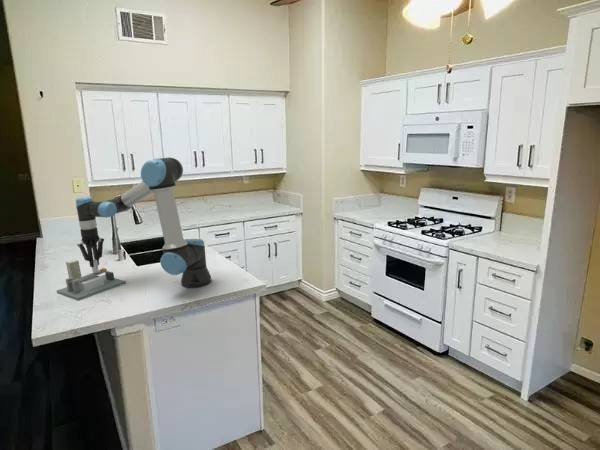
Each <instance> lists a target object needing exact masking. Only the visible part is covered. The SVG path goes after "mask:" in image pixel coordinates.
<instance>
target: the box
mask: <svg viewBox="0 0 600 450" xmlns="http://www.w3.org/2000/svg"><path fill="white" fill-rule="evenodd" d="M65 264H66V265H65V266H66V269H67V274H68V278H72V279H73V280H75V279H78V278H81V277H83V276H82V271H81V267H80V262H79V259H71V260H67V261H65Z"/></svg>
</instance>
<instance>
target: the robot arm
mask: <svg viewBox="0 0 600 450" xmlns="http://www.w3.org/2000/svg"><path fill="white" fill-rule="evenodd" d="M183 174H184V167H183V165H182V163H181V161H179V160H178V159H176V158H175V157H163V158H162V157H160V158H159V157H158V158H152V159H149V160H146V162H144V164H143V165H142V166H141V169H140V177H141V178H140V179H141V182H140V181H139V183H137V184H136V185H134V186H133V187H131V188H130V189H128V190H127V191H125V192H124V193H122V194H121V195H119V196H118V197H115V198H112V199H107V200H103V201H94V200H93V197H92V196H83V197H78V198H76V199H75V207H76V212H77V217H78V224H79V228H80V236H81V242H79V243H77V244H76V246H77V247H78V248H79V250H80V253H81V254H82V257H83V259H84V260H85V262H86V261H87V262H88V263H89V266H90V267H91V270H92V273H98V272H99V270H100V268H99V265H100V258H102V257H103V247H104V245H103V243H104V241H105V238H101V237H100V236H99V231H98V227H97V226H98V224H97V219H96V218H112V217H114V216H115V215H116V214H119V213H123V212H128V210H131V209H132V208H133V206H135V205H136V204H137V203H139V202H141V201H142V200H145V198H148V196H150V195H152V194H154V195H153V196H154V199H155V203H156V209H157V213H158V218H159V222H160V227H161V231H162V236H163V240H164V245H163V246H162V252H163V254H162V255H161V257H160V260H159V262H160V265H161V268H162V269H163V271H165V272H166V273H167V274H169V275H172V276H178V275H180V274H182V275H181V279H180V285H181V286H182V287H184V288H191V289H192V288H193V289H194V288H200V287H204V286H206V285H209V284H210V283H211V282H212V277H211V274H210V272H209V270H208V267H207V259H206V249H205V248H206V246H205V241H204V240H203V239H201V238H185V239H184V234H183V231H182V226H181V221H180V215H179V212H178V207H177V201H176V197H175V192H174V190H175V188H176V187H177V185H176V182H177V181H179V180H180V179H181V178H182V176H183Z"/></svg>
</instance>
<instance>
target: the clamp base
mask: <svg viewBox="0 0 600 450" xmlns="http://www.w3.org/2000/svg"><path fill="white" fill-rule="evenodd" d="M114 275H115V274H114V272H112V271H108V270H107V272H105V273H104V274H103V275H102V274H101V275H97V276H94V277H92V278H89V279H86V280H84V281H81V282H79V281H78V280H73V279H72V278H69V277H68V278H65V281H66V282H65V283H66V287H63V288H60V289H58V290H56V293H57V294H59V295H62V296H65V297H68V298H70V299H73V300H76V301H81V300H84V299H87V298H89V297H90V298H91V297H92V296H94V295H98V294H100V293H103V292H106V291H108V290H111V289H114V288H117V287H120V286H122V285H125V284H126V283H127V281H126V280H123V279H120V278H116V277H115V276H114Z"/></svg>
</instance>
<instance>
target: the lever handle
mask: <svg viewBox="0 0 600 450" xmlns="http://www.w3.org/2000/svg"><path fill="white" fill-rule="evenodd" d="M107 269H108V268H106V267H105V268H104V267H102V268H99V272H98V273H93V272H92V273H89V274H85V275H84V276H82V277H81V278H78V279H75V280H78V281H79V282H81V281H84V280H86V279H89V278H92V277H94V276H101V275H102V274H105V272H107V271H108V270H107Z"/></svg>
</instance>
